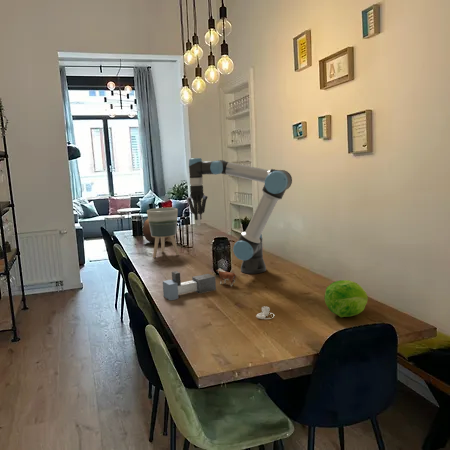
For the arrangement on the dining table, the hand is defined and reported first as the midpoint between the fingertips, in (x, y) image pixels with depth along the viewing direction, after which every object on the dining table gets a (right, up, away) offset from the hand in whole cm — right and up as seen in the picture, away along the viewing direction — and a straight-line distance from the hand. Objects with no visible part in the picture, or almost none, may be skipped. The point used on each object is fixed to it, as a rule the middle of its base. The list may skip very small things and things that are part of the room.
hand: (198, 225), depth 258 cm
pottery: (-40, -15, +105) cm, 113 cm away
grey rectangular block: (+5, -34, -27) cm, 44 cm away
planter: (-28, -22, +59) cm, 68 cm away
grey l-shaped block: (-5, -34, -34) cm, 48 cm away
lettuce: (+68, -38, -70) cm, 105 cm away
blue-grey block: (-12, -36, -37) cm, 53 cm away
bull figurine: (+16, -32, -18) cm, 40 cm away
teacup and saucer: (+30, -40, -66) cm, 83 cm away
